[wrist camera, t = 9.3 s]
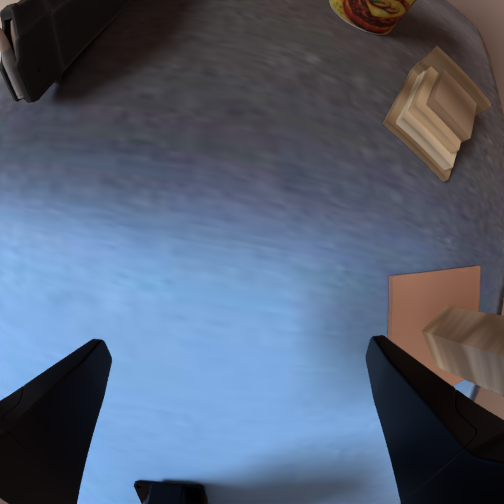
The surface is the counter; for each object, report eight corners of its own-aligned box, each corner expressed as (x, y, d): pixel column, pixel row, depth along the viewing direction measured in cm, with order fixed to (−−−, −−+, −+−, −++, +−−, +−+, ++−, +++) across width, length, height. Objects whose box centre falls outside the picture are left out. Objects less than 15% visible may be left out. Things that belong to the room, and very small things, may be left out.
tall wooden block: (435, 366, 20) (523, 404, 10) (421, 331, 20) (522, 362, 9) (457, 341, 21) (545, 367, 10) (446, 305, 21) (544, 322, 10)
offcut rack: (442, 181, 22) (481, 168, 16) (382, 124, 21) (415, 97, 16) (461, 119, 22) (491, 103, 17) (410, 69, 22) (436, 45, 17)
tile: (466, 375, 22) (469, 377, 21) (379, 409, 20) (383, 412, 20) (476, 265, 22) (480, 265, 21) (388, 275, 21) (392, 275, 20)
